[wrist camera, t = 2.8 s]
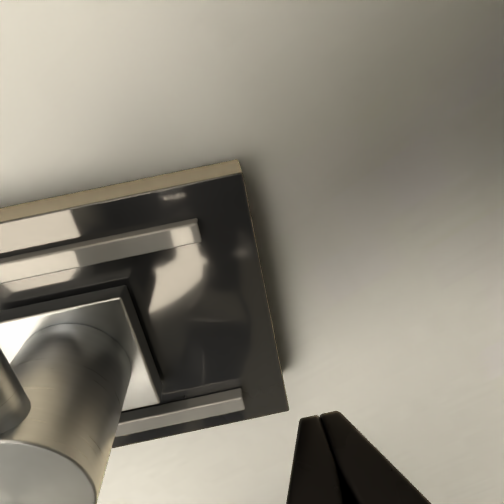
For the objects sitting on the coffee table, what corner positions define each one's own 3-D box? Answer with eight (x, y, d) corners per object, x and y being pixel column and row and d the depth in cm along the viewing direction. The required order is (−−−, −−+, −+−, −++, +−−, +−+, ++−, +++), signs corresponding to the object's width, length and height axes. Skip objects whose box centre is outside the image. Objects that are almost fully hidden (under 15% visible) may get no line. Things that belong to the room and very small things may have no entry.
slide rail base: (281, 374, 16) (291, 422, 14) (-150, 465, 16) (-209, 528, 14) (237, 158, 13) (243, 176, 10) (-320, 273, 13) (-437, 316, 10)
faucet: (163, 386, 13) (140, 536, 9) (46, 411, 13) (-35, 573, 9) (96, 200, 11) (16, 285, 6) (-51, 230, 11) (-235, 337, 6)
